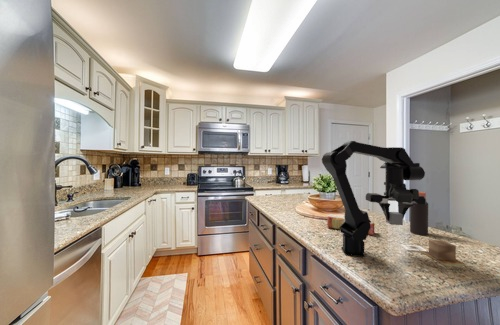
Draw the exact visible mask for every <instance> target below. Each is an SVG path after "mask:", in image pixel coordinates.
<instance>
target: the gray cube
mask: <svg viewBox="0 0 500 325" xmlns="http://www.w3.org/2000/svg"><path fill="white" fill-rule="evenodd" d="M389 216H390V217H389V221H388V220H387V219H386V218H385V222H386V223H387V224H389V225H393V226H403V225H404V223H403V222H404V218H403V214H400V213H398V211H389Z"/></svg>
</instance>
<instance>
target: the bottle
mask: <svg viewBox="0 0 500 325" xmlns="http://www.w3.org/2000/svg"><path fill="white" fill-rule="evenodd" d="M419 195H420V196H424V197H425V198H426V197H427V193H426V192H424V191H423V192H422V191H419ZM426 199H427V198H426ZM412 204H414V206H411V207H410V208H409V212H410V214H409V231H410V233H412V234H414V235H418V236H428V235H429V203H428V202H427V201H426V204H416V203H415V202H414V201H412Z"/></svg>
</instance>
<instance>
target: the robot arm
mask: <svg viewBox="0 0 500 325" xmlns="http://www.w3.org/2000/svg"><path fill="white" fill-rule="evenodd" d="M353 154H356V155H364V156H368V157H373V158H377V159H379V160H380V161H383V164H382V165H381V166H380V167H379V168H380V169H385V181H384V182H383V185H384V186H385V192H383V195H382V194H380V193H374V192H373V193H372V192H371V193H370V192H367V193H366V194H365V200H366V201H367V202H370V203H377V204H378V205H379V207H380V208H381V210H382V211H383V215H384V217H385V220H386V219H387V220H388V221H389V217H390V216H389V212H390V206H391V203H390V201H392V202H393V201H394V202H395V201H396V203H397V208H398V209H397V212H398V213H400V214H403V219H404V218H405V215H406V214H407V211H408V210H409V209H410V207H411V206H414V204H412V201H414V202H415V203H416V204H426V202H427V198H425V197H424V196H420V195H419V192H420V191H419V189H417V188H410V189H407V184H406V183H404V181H421V180H422V179H424V178H425V175H426V172H425V171H424V168H423V167H422V166H421V164H420V162H414V161H413V160H412V159H411V157H410V156H409V154H408V153H407V151H406V148H404V147H397V146H396V147H384V146H377V145H373V144H369V143H362V142H357V141H356V140H350V141H349V140H348V141H346V142H344V143H343V144H342V145H340V146H338V147H336V148H334V149H332V150H331V151H329V152H326V153H324V154H323V155H322V157H321V163H322V165H323V166H324V168H325V170H326V171H327V172H328V173H329V174H330V175H331V177H332V179H333V181H334V185H335V187H336V190H337V193H338V195H339V198H340V200H341V203H342V206H343V208H344V216H343V217H345V222H344V223H343V224H342V225H341V226H340V227H339V228H340V230H339V231H340V233H342V246H341V248H340V249H341V250H342V251H343V254H344V255H345V256H353V257H366V256H365V245H366V244H365V241H366V240H367V238H368V236H369V235H368V232H369V230H370V228H371V225H370V223H371V221H372V220H371V219H370V218H369V214H368V212H367V211H365V210H361V208H360V206H359V205H358V203H357V199H356V197H355V194H354V192H353V189H352V187H351V184H350V181H349V178H348V176H347V168H348V167H347V166H348V165H347V160H348V159H351V157H352V155H353ZM353 231H354V232H353Z"/></svg>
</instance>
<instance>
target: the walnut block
mask: <svg viewBox="0 0 500 325" xmlns="http://www.w3.org/2000/svg"><path fill="white" fill-rule="evenodd" d="M456 250H457V247H456V245H454V244H452V243H449V242H448V241H446V240H440V239H439V240H438V239H428V252H429V254H431V255H432V256H434V257H435V258H437V259H438V260H448V261H456V259H457V257H456V256H457V255H456V254H457V252H456Z"/></svg>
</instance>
